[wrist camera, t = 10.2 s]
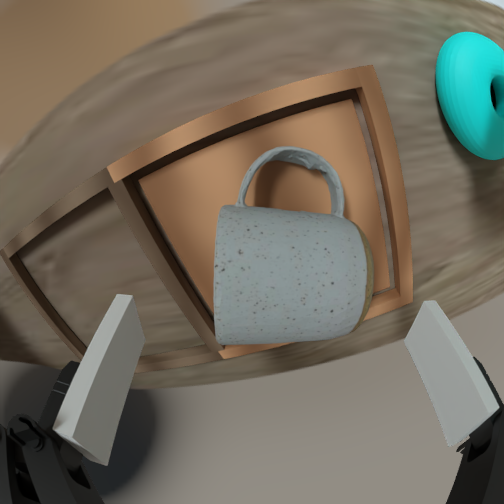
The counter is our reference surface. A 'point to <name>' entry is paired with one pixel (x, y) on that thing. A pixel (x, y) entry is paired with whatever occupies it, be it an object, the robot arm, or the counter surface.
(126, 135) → the counter surface
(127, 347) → the robot arm
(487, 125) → the donuts
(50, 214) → the tray
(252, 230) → the ceramic mug
